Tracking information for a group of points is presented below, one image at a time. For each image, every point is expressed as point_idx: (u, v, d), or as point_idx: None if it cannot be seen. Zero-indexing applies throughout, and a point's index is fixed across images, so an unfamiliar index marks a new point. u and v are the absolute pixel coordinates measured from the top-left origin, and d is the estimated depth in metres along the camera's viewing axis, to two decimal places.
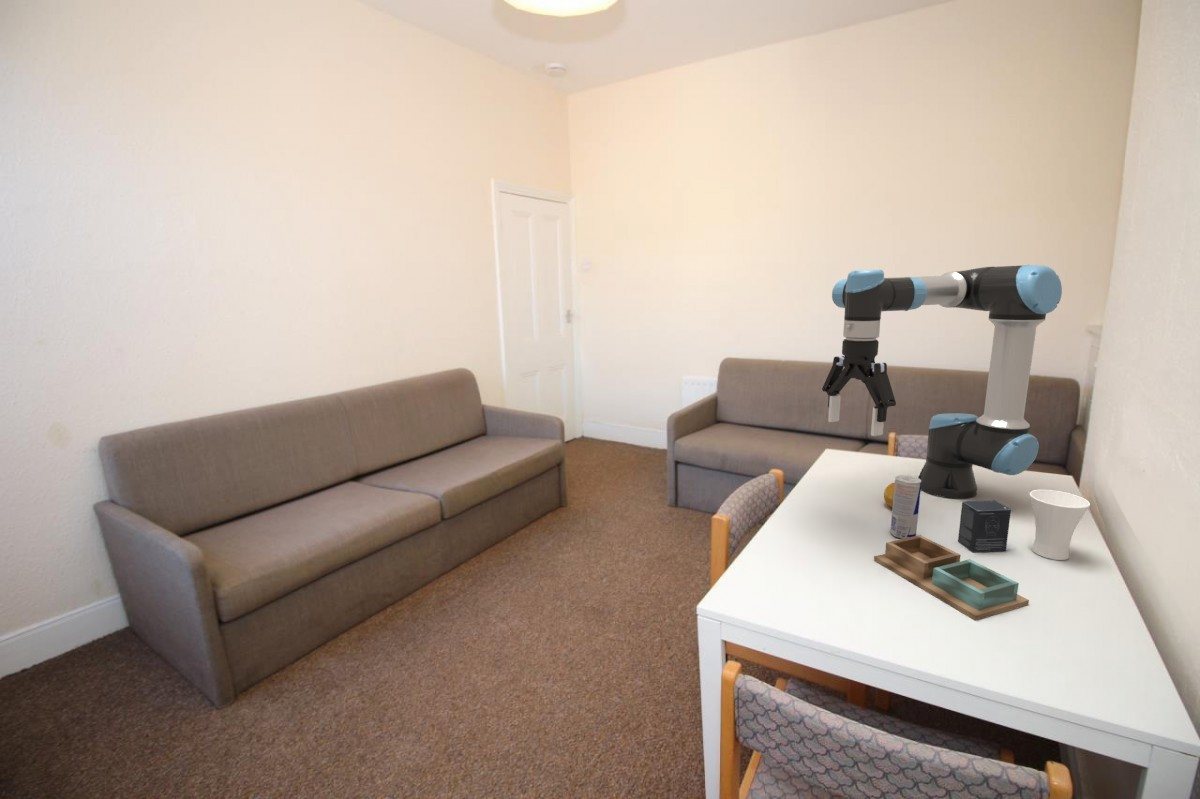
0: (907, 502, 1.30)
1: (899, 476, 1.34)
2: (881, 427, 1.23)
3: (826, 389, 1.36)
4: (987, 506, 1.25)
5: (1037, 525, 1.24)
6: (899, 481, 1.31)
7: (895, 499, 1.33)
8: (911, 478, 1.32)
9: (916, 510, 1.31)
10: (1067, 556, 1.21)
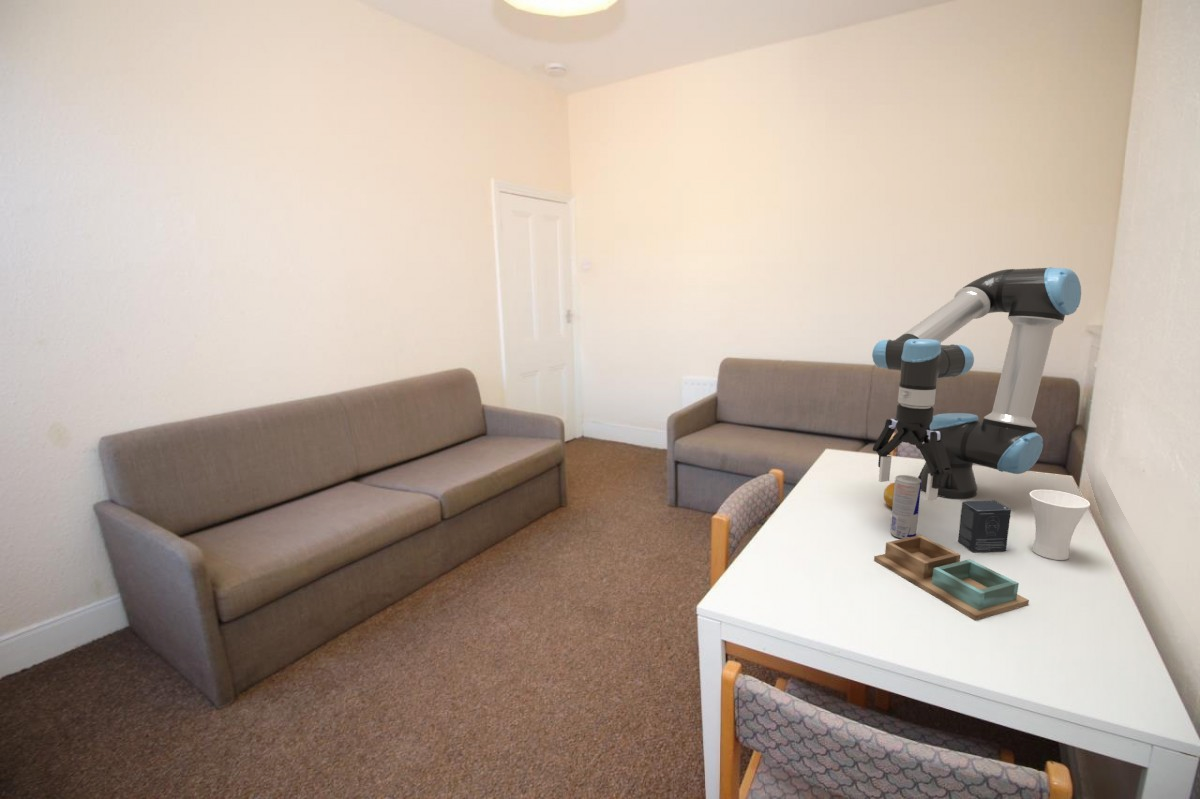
0: (907, 502, 1.30)
1: (899, 476, 1.34)
2: (935, 493, 1.25)
3: (877, 449, 1.39)
4: (987, 506, 1.25)
5: (1037, 525, 1.24)
6: (899, 481, 1.31)
7: (895, 499, 1.33)
8: (911, 478, 1.32)
9: (916, 510, 1.31)
10: (1067, 556, 1.21)
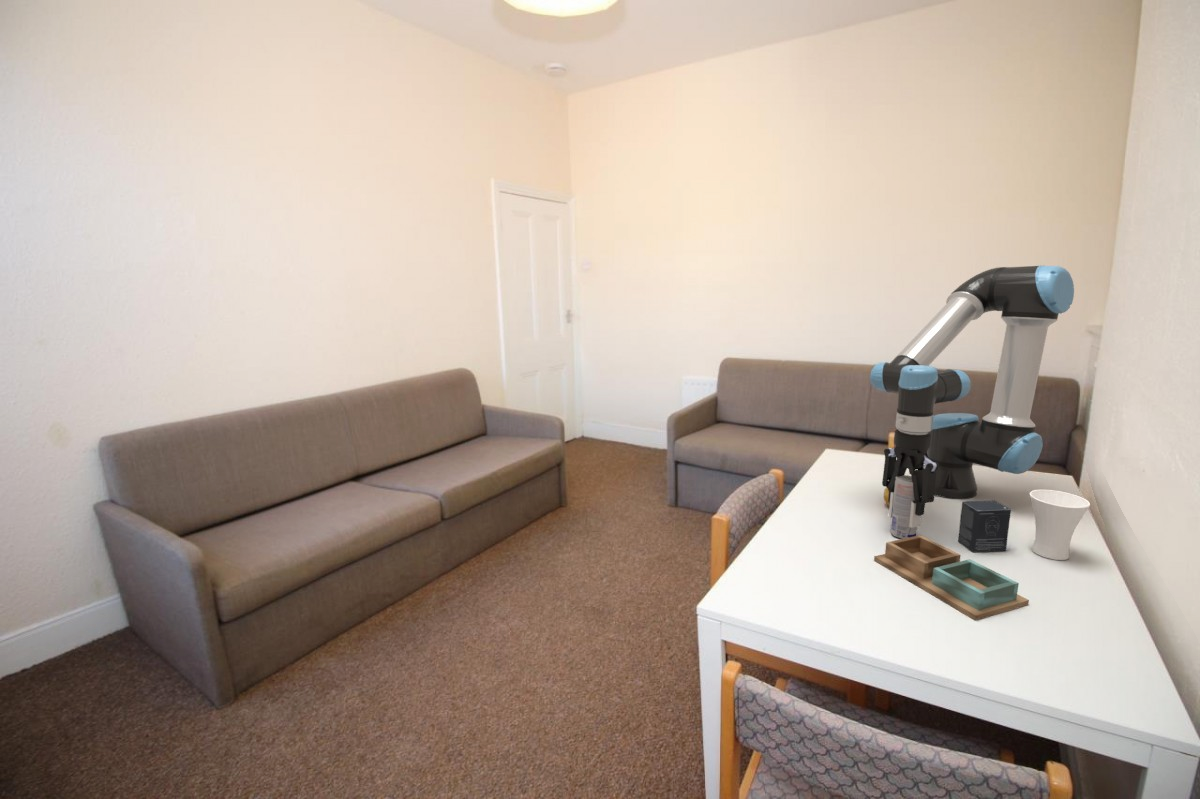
0: (907, 503, 1.30)
1: (899, 476, 1.34)
2: (919, 519, 1.31)
3: (886, 483, 1.37)
4: (987, 506, 1.25)
5: (1037, 525, 1.24)
6: (899, 481, 1.31)
7: (895, 499, 1.33)
8: (911, 478, 1.32)
9: None
10: (1067, 556, 1.21)
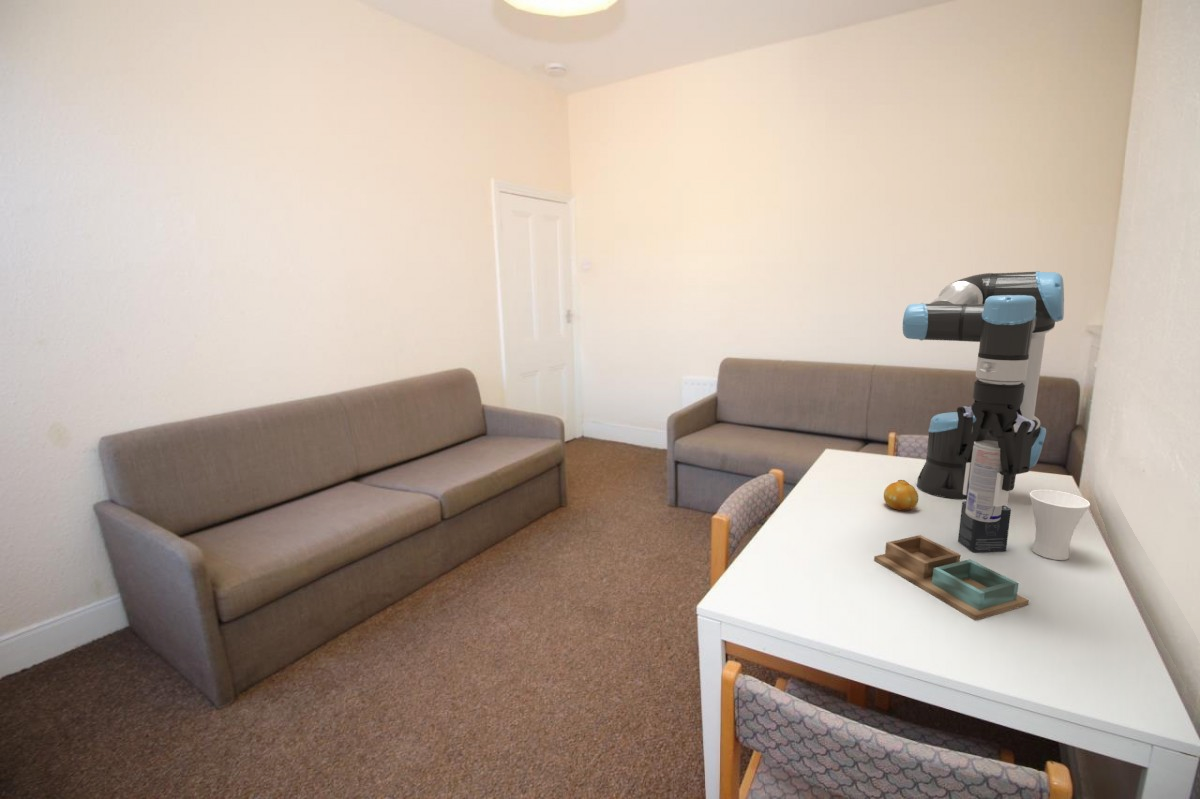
0: (991, 474, 1.01)
1: (978, 441, 1.04)
2: (1006, 496, 1.01)
3: (960, 452, 1.07)
4: None
5: (1037, 525, 1.24)
6: (980, 446, 1.02)
7: (974, 470, 1.03)
8: (995, 443, 1.03)
9: None
10: (1067, 556, 1.21)
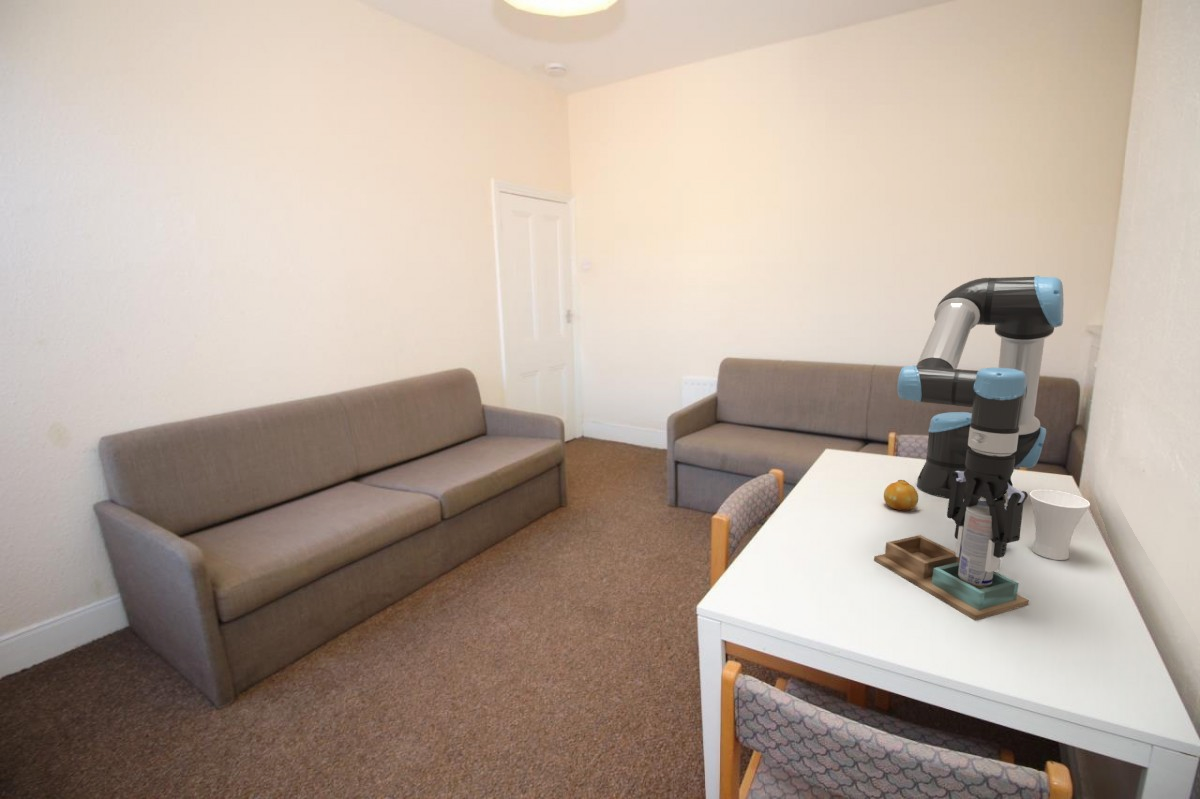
0: (983, 541, 1.04)
1: (971, 506, 1.07)
2: (997, 561, 1.04)
3: (953, 515, 1.10)
4: (987, 506, 1.25)
5: (1037, 525, 1.24)
6: (972, 513, 1.05)
7: (966, 536, 1.06)
8: (987, 509, 1.05)
9: None
10: (1067, 556, 1.21)
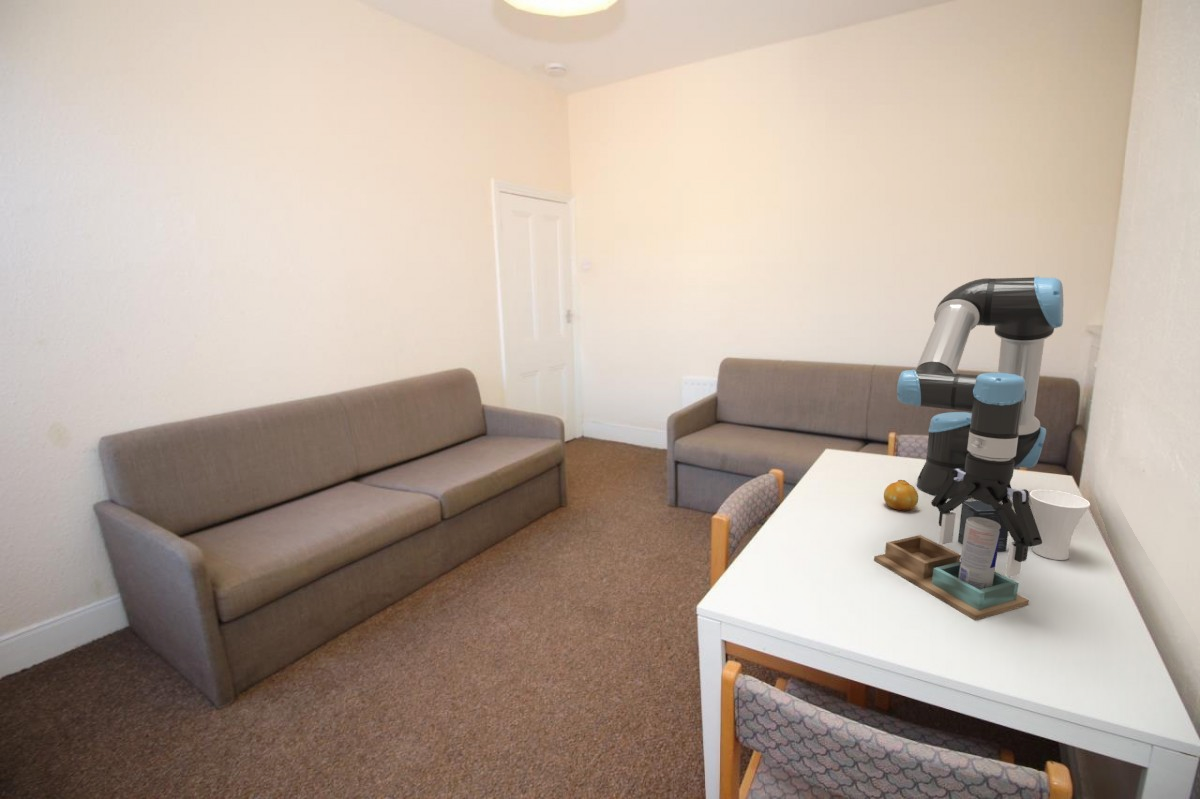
0: (983, 553, 1.04)
1: (971, 518, 1.07)
2: (1018, 566, 1.00)
3: (937, 504, 1.14)
4: (987, 506, 1.25)
5: (1037, 525, 1.24)
6: (972, 525, 1.05)
7: (966, 548, 1.06)
8: (987, 522, 1.06)
9: (993, 562, 1.04)
10: (1067, 556, 1.21)
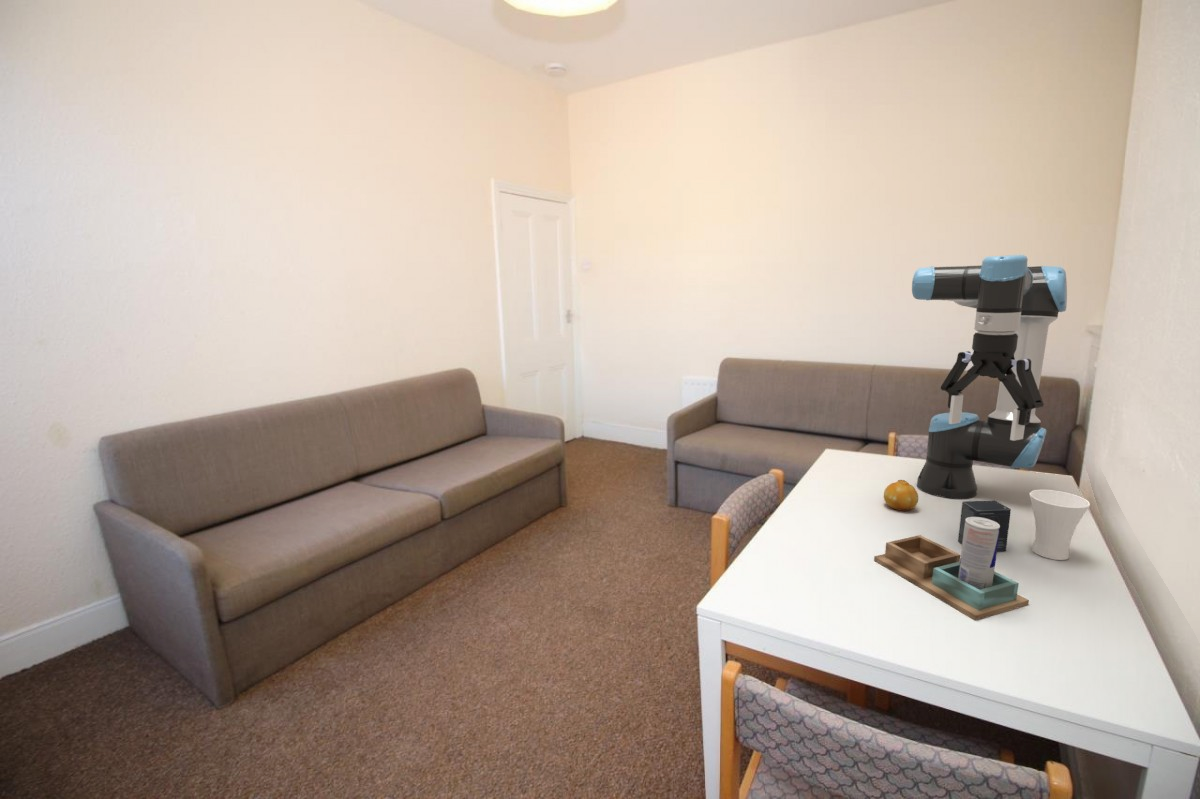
0: (982, 553, 1.04)
1: (970, 518, 1.07)
2: (1022, 430, 1.10)
3: (946, 388, 1.23)
4: (987, 506, 1.25)
5: (1037, 525, 1.24)
6: (971, 525, 1.05)
7: (966, 547, 1.06)
8: (986, 521, 1.06)
9: (993, 562, 1.05)
10: (1067, 556, 1.21)
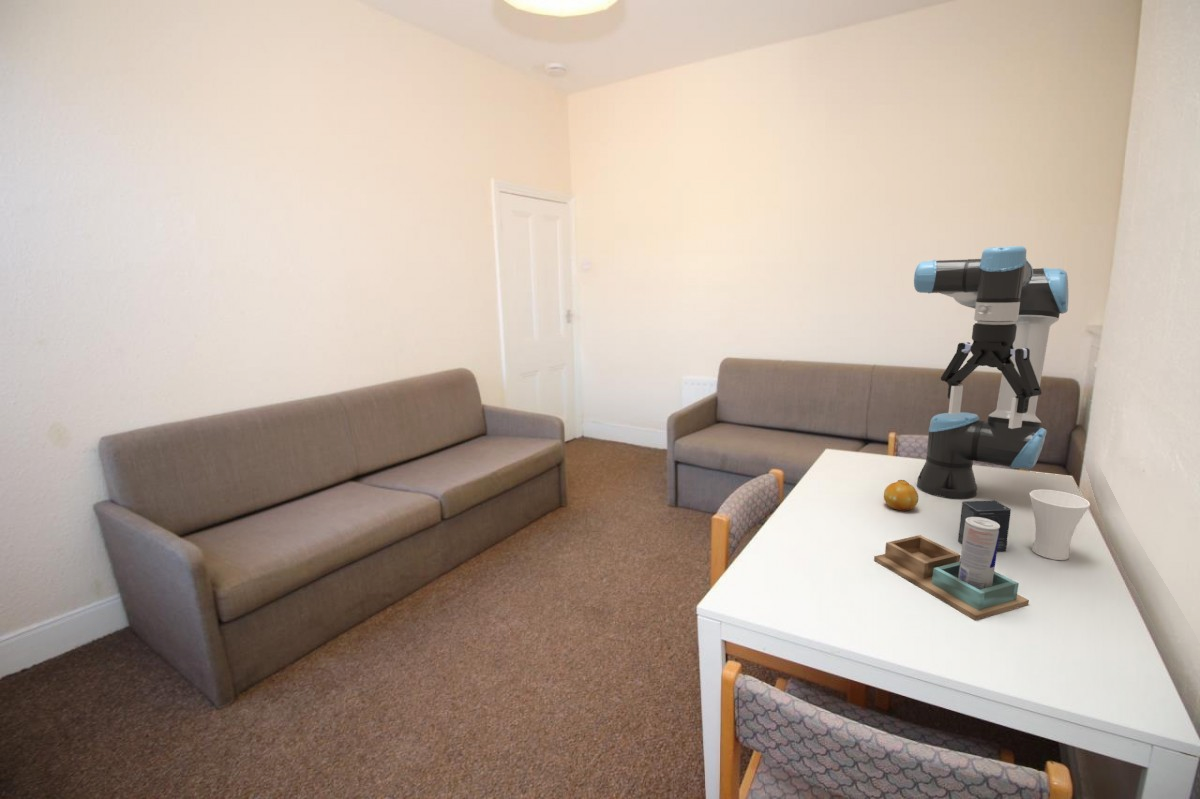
0: (982, 553, 1.04)
1: (970, 518, 1.07)
2: (1020, 419, 1.12)
3: (946, 378, 1.25)
4: (987, 506, 1.25)
5: (1037, 525, 1.24)
6: (971, 525, 1.05)
7: (966, 547, 1.06)
8: (986, 521, 1.06)
9: (993, 562, 1.05)
10: (1067, 556, 1.21)
